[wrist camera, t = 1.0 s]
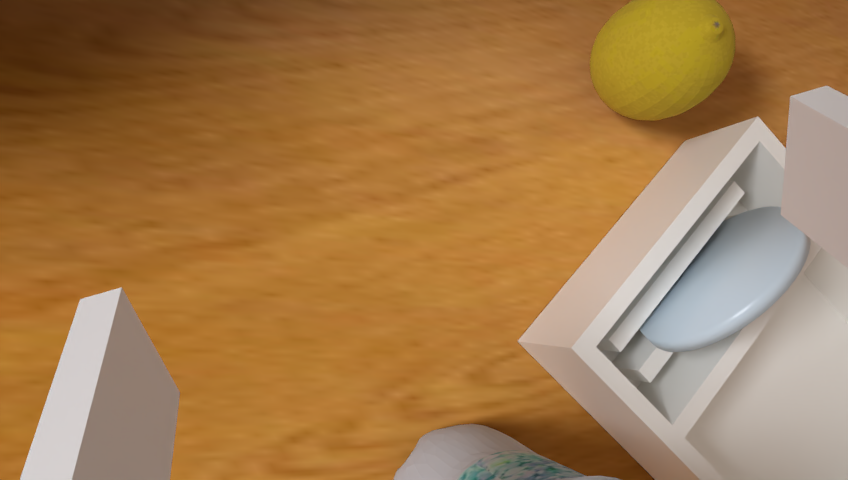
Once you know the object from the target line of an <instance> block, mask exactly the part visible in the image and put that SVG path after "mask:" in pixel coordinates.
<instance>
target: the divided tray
mask: <svg viewBox="0 0 848 480" xmlns="http://www.w3.org/2000/svg"><path fill="white" fill-rule="evenodd" d="M785 155H786V148H785V147H784V146H783V145H782V144H781V142H780V141H779V140H778V139H777V138H776V137H775V135H774V134H773V133H772V132H771V131H770V130H769V128H768V127H767V126H766V125H765V124H764V123H763V121H762V120H761V119H760V118H759V117H755V118H752V119H749V120H746V121H743V122H740V123H737V124H734V125H731V126H728V127H725V128H722V129H719V130H716V131H713V132H710V133H707V134H704V135H701V136H697V137H694V138H691V139H688V140H685V141H684V142H683V144H682V145H681V146H680V147H679V148H678V150H677V151H676V152H675V153H674V154H673V156H672V157H671V158H670V159H669V160H668V162H667V163H666V164H665V165H664V166H663V168H662V169H661V170H660V171H659V172H658V174H657V175H656V176H655V177H654V178H653V180H652V181H651V182H650V183H649V184H648V185H647V187H646V188H645V189H644V190H643V191H642V193H641V194H640V195H639V196H638V197H637V199H636V200H635V201H634V202H633V203H632V205H631V206H630V207H629V208H628V209H627V211H626V212H625V213H624V214H623V215H622V217H621V218H620V219H619V220H618V221H617V223H616V224H615V225H614V226H613V227H612V229H611V230H610V231H609V232H608V233H607V235H606V236H605V237H604V238H603V239H602V241H601V242H600V243H599V244H598V245H597V247H596V248H595V249H594V250H593V251H592V253H591V254H590V255H589V256H588V257H587V259H586V260H585V261H584V262H583V263H582V264H581V266H580V267H579V268H578V269H577V270H576V272H575V273H574V274H573V275H572V276H571V278H570V279H569V280H568V281H567V282H566V284H565V285H564V286H563V287H562V288H561V290H560V291H559V292H558V293H557V294H556V296H555V297H554V298H553V299H552V300H551V302H550V303H549V304H548V305H547V306H546V308H545V309H544V310H543V311H542V312H541V314H540V315H539V316H538V317H537V318H536V320H535V321H534V322H533V323H532V324H531V326H530V327H529V328H528V329H527V330H526V332H525V333H524V334H523V335H522V336H521V338H520V339H519V340H518V341H517V342H518V343H519V344H520V345H521V346H522V347H523V348H524V349H525V350H526V351H527V352H528V353H529V354H530V355H531V356H532V357H533V358H534V359H535V360H536V361H537V362H538V363H539V364H540V365H541V366H542V367H543V368H544V369H545V370H546V371H547V372H548V373H549V374H550V375H551V376H552V377H553V378H554V379H555V380H556V381H557V382H558V383H559V384H560V385H561V386H562V387H563V388H564V389H565V390H566V391H567V392H568V393H569V394H570V395H571V396H572V397H573V398H574V399H575V400H576V401H577V402H578V403H579V404H580V405H581V406H582V407H583V408H584V409H585V410H586V411H587V412H588V413H589V414H590V415H591V416H592V417H593V418H594V419H595V420H596V421H597V422H598V423H599V424H600V425H601V426H602V427H603V428H604V429H605V430H606V431H607V432H608V433H609V434H610V435H611V436H612V437H613V438H614V439H615V440H616V441H617V442H618V443H619V444H620V445H621V446H622V447H623V448H624V449H625V450H626V451H627V452H628V453H629V454H630V455H631V456H632V457H633V458H634V459H635V460H636V461H637V462H638V463H639V464H640V465H641V466H642V467H643V468H644V469H645V470H646V471H647V472H648V473H649V474H650V475H651V476H652V477H653V478H654V479H655V480H848V268H847V267H845V266H844V265H843V264H842V263H840V262H839V261H838V260H837V259H835V258H834V257H833V256H832V255H830V254H829V253H828V252H827V251H825V250H824V249H823V248H822V247H820V246H819V245H818V244H817V243H815V242H814V241H813V240H812V239H810V238H809V237H808V236H807V235H805V234H804V233H803V232H802V231H800V230H799V229H798V228H797V227H795V226H794V225H793V224H792V223H790V222H789V221H788V220H786V219H785V218H784V217H783V216H781V204H782V192H783V180H784V167H785Z"/></svg>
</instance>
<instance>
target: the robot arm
mask: <svg viewBox="0 0 848 480" xmlns="http://www.w3.org/2000/svg"><path fill="white" fill-rule="evenodd" d="M781 216H783V217H784V218H785V219H786V220H788V221H789V222H790V223H792V224H793V225H794V226H795V227H797V228H798V229H799V230H800V231H802V232H803V233H804V234H805V235H807V236H808V237H809V238H810V239H812V240H813V241H814V242H815V243H817V244H818V245H819V246H820V247H822V248H823V249H824V250H825V251H827V252H828V253H829V254H830V255H832V256H833V257H834V258H835V259H837V260H838V261H839V262H840V263H842V264H843V265H844V266H845V267H847V268H848V96H846V95H844V94H842V93H840V92H839V91H837V90H835V89H833V88H831V87H829V86H824V87H821V88H817V89H814V90H810V91H807V92H803V93H800V94H796V95H793V96H790V106H789V118H788V130H787V143H786V155H785V167H784V180H783V192H782V204H781ZM179 397H180V392H179V390H178V388H177V386H176V385H175V383H174V381H173V379H172V377H171V376H170V374H169V372H168V370H167V368H166V367H165V365H164V363H163V361H162V359H161V358H160V356H159V354H158V352H157V350H156V348H155V347H154V345H153V343H152V341H151V339H150V338H149V336H148V334H147V332H146V330H145V329H144V327H143V325H142V323H141V321H140V320H139V318H138V316H137V314H136V312H135V311H134V309H133V307H132V305H131V303H130V302H129V300H128V298H127V296H126V294H125V293H124V291H123V289H122V288H118V289H115V290H111V291H108V292H104V293H101V294H97V295H94V296H90V297H87V298H83V299H80V302H79V305H78V308H77V311H76V314H75V317H74V320H73V323H72V326H71V329H70V332H69V335H68V338H67V341H66V343H65V346H64V349H63V352H62V355H61V358H60V361H59V364H58V367H57V370H56V373H55V376H54V379H53V382H52V385H51V388H50V391H49V394H48V397H47V400H46V403H45V406H44V409H43V412H42V415H41V418H40V421H39V424H38V427H37V430H36V433H35V436H34V439H33V442H32V445H31V448H30V451H29V454H28V457H27V460H26V463H25V466H24V469H23V472H22V475H21V478H20V480H170V474H171V465H172V457H173V448H174V439H175V431H176V422H177V414H178V405H179Z"/></svg>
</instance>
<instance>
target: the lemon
mask: <svg viewBox="0 0 848 480" xmlns="http://www.w3.org/2000/svg"><path fill="white" fill-rule="evenodd" d="M734 53H735V33H734V29H733V25H732V23H731V20H730V18H729V16H728V14H727V13H726V11H725V10H724V9H723V7H722V6H721V5H720V4H719V3H718V2H716V1H715V0H632V1H631V2H629V3H628V4H626V5H625V6H624V7H622V8H621V9H620V10H618V11H617V12H616V13H614V14H613V15H612V16H611V17H610V18H609V20H608V21H607V22H606V24H605V25H604V26H603V27H602V29H601V30H600V31H599V33H598V35H597V37H596V40H595V42H594V45H593V47H592V50H591V57H590V75H591V79H592V82H593V85H594V88H595V90H596V92H597V93H598V95H599V97H600V98H601V100H602V101H603V102H604V103H605V104H606V105H607V106H608V107H609V108H611V109H612V110H614V111H615V112H617V113H619V114H620V115H623V116H626V117H629V118H632V119H635V120H651V121H653V120H660V119H664V118H669V117H673V116H676V115H679V114H681V113H684V112H686V111H687V110H689V109H691V108H692V107H694V106H696V105H697V104H699V103H700V102H702V101H703V100H705V99H706V98H707V97H708V96H709V95H710V94H711V93H712V92H713V91H714V90H715V89H716V88H717V87H718V86H719V85H720V84H721V83H722V81H723V80H724V79H725V77H726V75H727V73H728V71H729V69H730V67H731V65H732V62H733V58H734Z"/></svg>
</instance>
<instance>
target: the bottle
mask: <svg viewBox="0 0 848 480" xmlns="http://www.w3.org/2000/svg"><path fill="white" fill-rule="evenodd" d="M394 480H621V479H618V478H613V477H607V476H586V475H583V474H581V473H579V472H577V471H574V470H572V469H570V468H568V467H566V466H563V465H561V464H559V463H557V462H555V461H552V460H550V459H548V458H546V457H543V456H541V455H538V454H536V453H535V452H533V451H532V450H530V449H529V448H527V447H526V446H524V445H523V444H521V443H519V442H518V441H516V440H514V439H513V438H511V437H510V436H508V435H506V434H504V433H502V432H500V431H497V430H495V429H492V428H489V427H487V426H484V425H478V424H463V425H456V426H452V427H447V428H443V429H437V430H434V431H431V432H429V433H427V434H425V435H423V436H422V437H421V438H420V439H419V441H418V443H417V445H416V447H415V449H414V450H413V451H412V453H411V454H410V456H409V457H408V458H407V460H406V461H405V463H404V464H403V465H402V466H401V468H399V469H398V470H397V472H396V474H395V477H394Z"/></svg>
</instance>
